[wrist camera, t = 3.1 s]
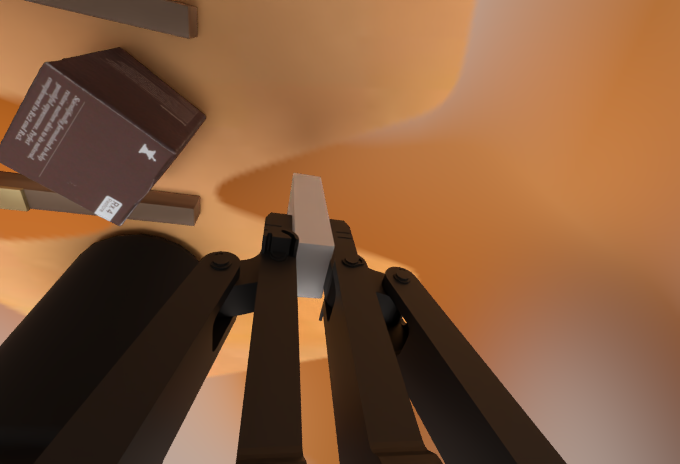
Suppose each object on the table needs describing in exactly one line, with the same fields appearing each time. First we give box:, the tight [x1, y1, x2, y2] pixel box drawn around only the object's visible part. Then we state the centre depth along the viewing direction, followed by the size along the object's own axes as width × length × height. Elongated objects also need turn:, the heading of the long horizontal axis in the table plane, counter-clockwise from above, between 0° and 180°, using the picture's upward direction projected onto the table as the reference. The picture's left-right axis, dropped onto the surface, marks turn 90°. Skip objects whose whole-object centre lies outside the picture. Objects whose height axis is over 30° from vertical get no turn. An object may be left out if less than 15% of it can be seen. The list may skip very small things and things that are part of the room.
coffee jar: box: [0, 234, 199, 464], centre depth 21 cm, size 11×11×18 cm
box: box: [0, 47, 206, 226], centre depth 18 cm, size 6×6×7 cm
